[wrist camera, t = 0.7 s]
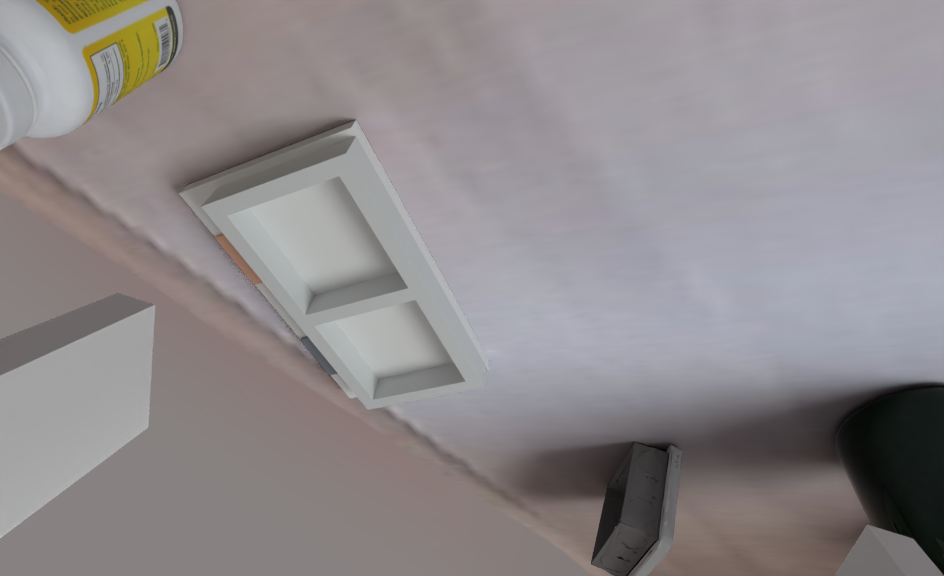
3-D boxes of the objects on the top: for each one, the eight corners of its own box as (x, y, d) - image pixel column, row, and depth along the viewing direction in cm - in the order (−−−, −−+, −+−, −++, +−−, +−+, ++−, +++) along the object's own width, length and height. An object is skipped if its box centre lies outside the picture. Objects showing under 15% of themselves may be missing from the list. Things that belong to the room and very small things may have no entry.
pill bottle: (26, -52, 25) (-227, 10, 17) (140, -84, 24) (-74, -35, 15) (110, 81, 29) (-63, 185, 21) (211, 59, 28) (71, 161, 19)
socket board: (187, 185, 33) (161, 211, 31) (356, 119, 29) (340, 144, 27) (353, 388, 44) (343, 419, 42) (489, 360, 41) (486, 392, 38)
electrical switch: (643, 497, 51) (649, 601, 44) (589, 483, 52) (587, 585, 44) (682, 441, 45) (697, 552, 38) (621, 427, 45) (624, 534, 38)
